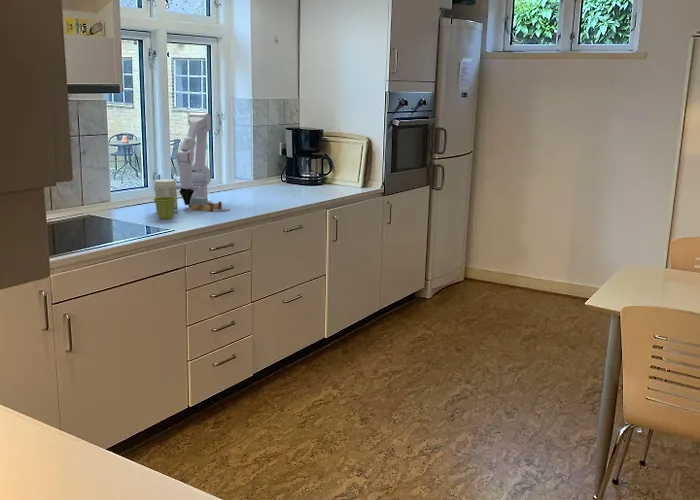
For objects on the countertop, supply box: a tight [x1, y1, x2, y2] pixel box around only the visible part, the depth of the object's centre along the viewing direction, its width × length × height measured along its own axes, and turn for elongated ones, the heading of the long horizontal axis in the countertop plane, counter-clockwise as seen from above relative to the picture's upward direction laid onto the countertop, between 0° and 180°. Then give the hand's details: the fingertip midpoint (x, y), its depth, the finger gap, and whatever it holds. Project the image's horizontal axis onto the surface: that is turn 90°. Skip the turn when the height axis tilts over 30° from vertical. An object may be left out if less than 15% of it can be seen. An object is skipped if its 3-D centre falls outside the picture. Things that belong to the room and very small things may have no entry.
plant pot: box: [153, 197, 176, 220], centre depth 302 cm, size 9×9×9 cm
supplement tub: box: [154, 178, 178, 214], centre depth 316 cm, size 10×10×15 cm
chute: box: [188, 201, 223, 212], centre depth 326 cm, size 13×8×4 cm, turn 68°
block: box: [191, 197, 209, 205], centre depth 327 cm, size 6×4×5 cm
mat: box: [213, 208, 230, 213], centre depth 323 cm, size 6×6×1 cm
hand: (187, 204), depth 330 cm, fingers closed
